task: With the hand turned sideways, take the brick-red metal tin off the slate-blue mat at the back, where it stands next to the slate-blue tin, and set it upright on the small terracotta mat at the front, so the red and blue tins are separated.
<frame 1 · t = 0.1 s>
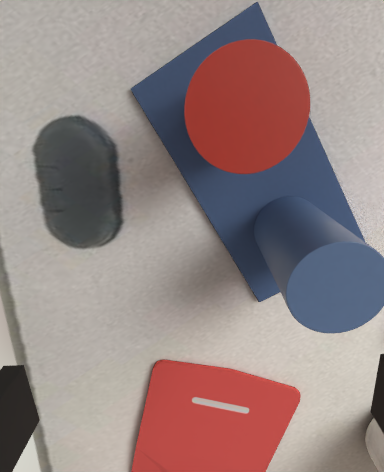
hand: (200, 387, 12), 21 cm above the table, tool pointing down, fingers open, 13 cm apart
red tin: (226, 115, 28), resting on blue mat
blue mat: (257, 174, 30), on the table
desk lamp: (212, 420, 40), on the table
blue tin: (287, 228, 31), resting on blue mat
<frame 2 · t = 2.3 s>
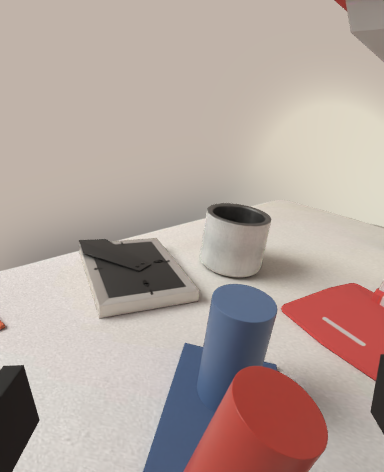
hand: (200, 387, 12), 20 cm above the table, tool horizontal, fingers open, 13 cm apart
blue mat: (218, 444, 31), on the table
desk lamp: (354, 328, 51), on the table
blue tin: (224, 390, 36), resting on blue mat
planter: (229, 265, 66), on the table
picture frame: (133, 276, 57), on the table
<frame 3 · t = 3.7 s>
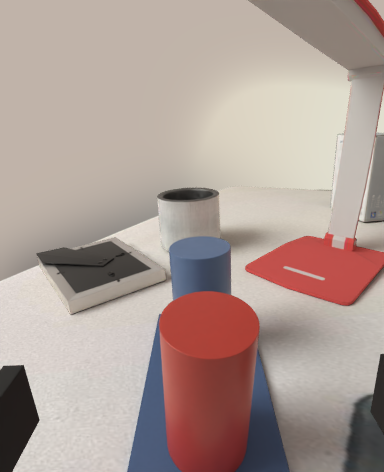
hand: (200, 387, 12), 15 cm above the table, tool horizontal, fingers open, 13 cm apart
hard drive box: (358, 214, 83), on the table
red tin: (206, 437, 26), point 1 cm above the table, tilted 6°, touching blue mat
blue mat: (205, 384, 32), on the table
desk lamp: (313, 270, 55), on the table
blue tin: (203, 341, 37), resting on blue mat
planter: (190, 246, 68), on the table
picture frame: (98, 274, 57), on the table
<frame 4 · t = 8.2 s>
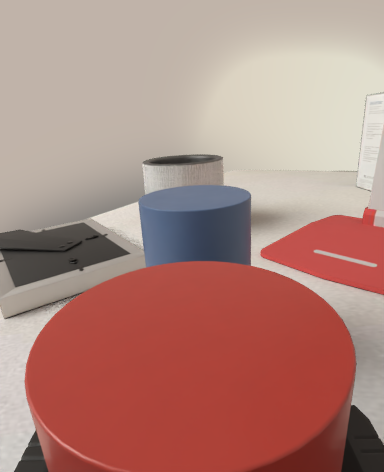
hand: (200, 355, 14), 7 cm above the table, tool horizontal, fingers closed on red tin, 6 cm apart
desk lamp: (354, 255, 40), on the table
blue tin: (203, 364, 22), resting on blue mat
planter: (187, 229, 53), on the table
picture frame: (61, 263, 42), on the table
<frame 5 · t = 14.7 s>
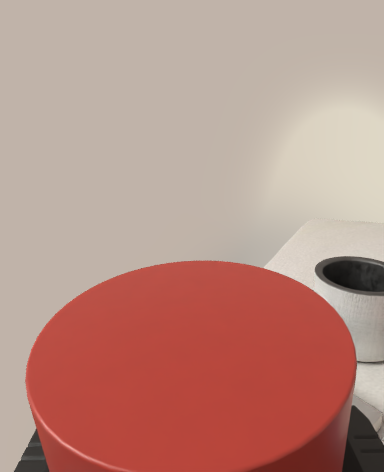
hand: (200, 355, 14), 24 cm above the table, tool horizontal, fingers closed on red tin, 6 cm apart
planter: (352, 338, 50), on the table
picture frame: (261, 405, 39), on the table
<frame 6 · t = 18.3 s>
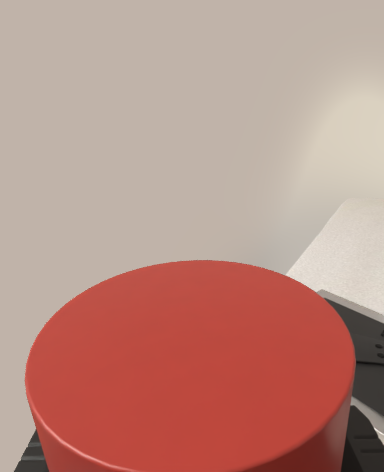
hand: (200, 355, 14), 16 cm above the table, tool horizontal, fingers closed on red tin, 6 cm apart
picture frame: (364, 371, 33), on the table
when the fingers open (7 cm above the table, at t = 21.0 s): red tin stays where it is, resting on terracotta mat.
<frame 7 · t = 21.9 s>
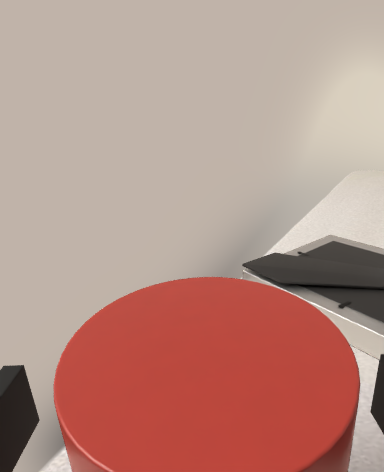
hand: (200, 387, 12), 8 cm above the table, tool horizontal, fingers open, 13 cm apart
picture frame: (378, 303, 31), on the table
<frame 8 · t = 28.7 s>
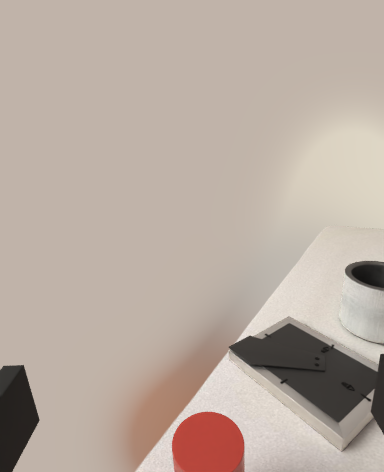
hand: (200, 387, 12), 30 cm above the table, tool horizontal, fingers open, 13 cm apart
planter: (373, 326, 62), on the table
picture frame: (308, 374, 52), on the table
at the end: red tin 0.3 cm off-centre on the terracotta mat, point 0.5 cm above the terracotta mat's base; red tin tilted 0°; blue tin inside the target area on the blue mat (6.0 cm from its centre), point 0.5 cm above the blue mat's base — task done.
